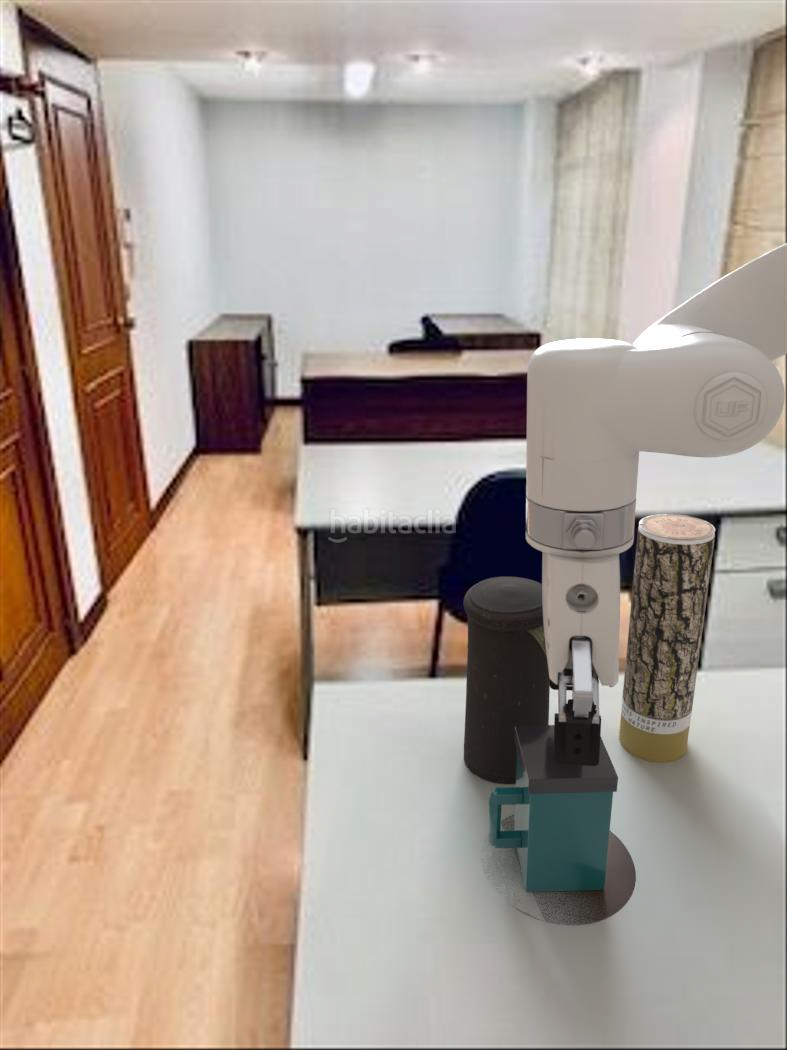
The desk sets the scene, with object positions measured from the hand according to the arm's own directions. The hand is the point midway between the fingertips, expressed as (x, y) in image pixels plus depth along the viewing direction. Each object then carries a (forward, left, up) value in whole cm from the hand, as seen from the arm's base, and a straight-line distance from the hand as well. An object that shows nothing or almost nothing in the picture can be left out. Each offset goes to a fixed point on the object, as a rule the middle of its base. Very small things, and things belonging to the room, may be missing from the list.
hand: (572, 722), depth 60 cm
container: (+4, -14, -15) cm, 21 cm away
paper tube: (-11, -17, -15) cm, 25 cm away
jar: (+2, 0, -14) cm, 14 cm away
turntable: (+1, 0, -15) cm, 15 cm away
